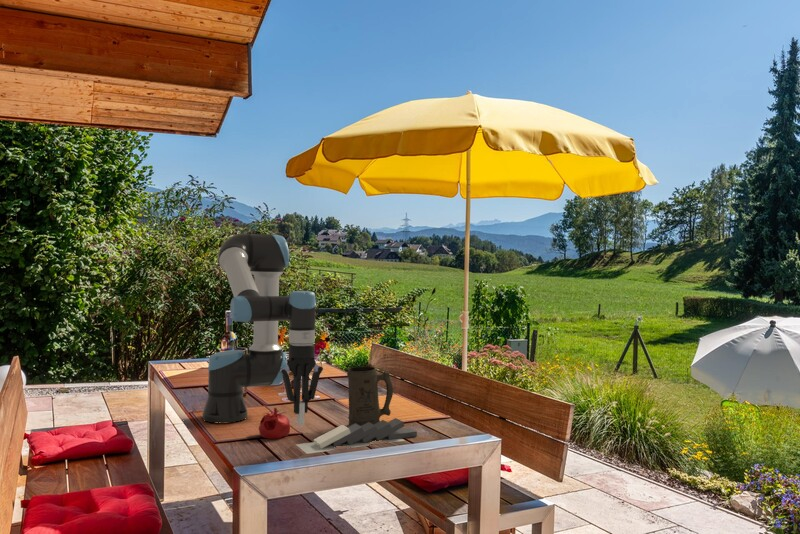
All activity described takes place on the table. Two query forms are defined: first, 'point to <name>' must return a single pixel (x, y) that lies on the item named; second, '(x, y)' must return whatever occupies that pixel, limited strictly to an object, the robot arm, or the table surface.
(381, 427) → the domino
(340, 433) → the domino
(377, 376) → the beer stein
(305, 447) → the mat
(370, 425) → the domino
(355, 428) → the domino
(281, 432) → the pomegranate
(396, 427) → the domino
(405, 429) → the domino
